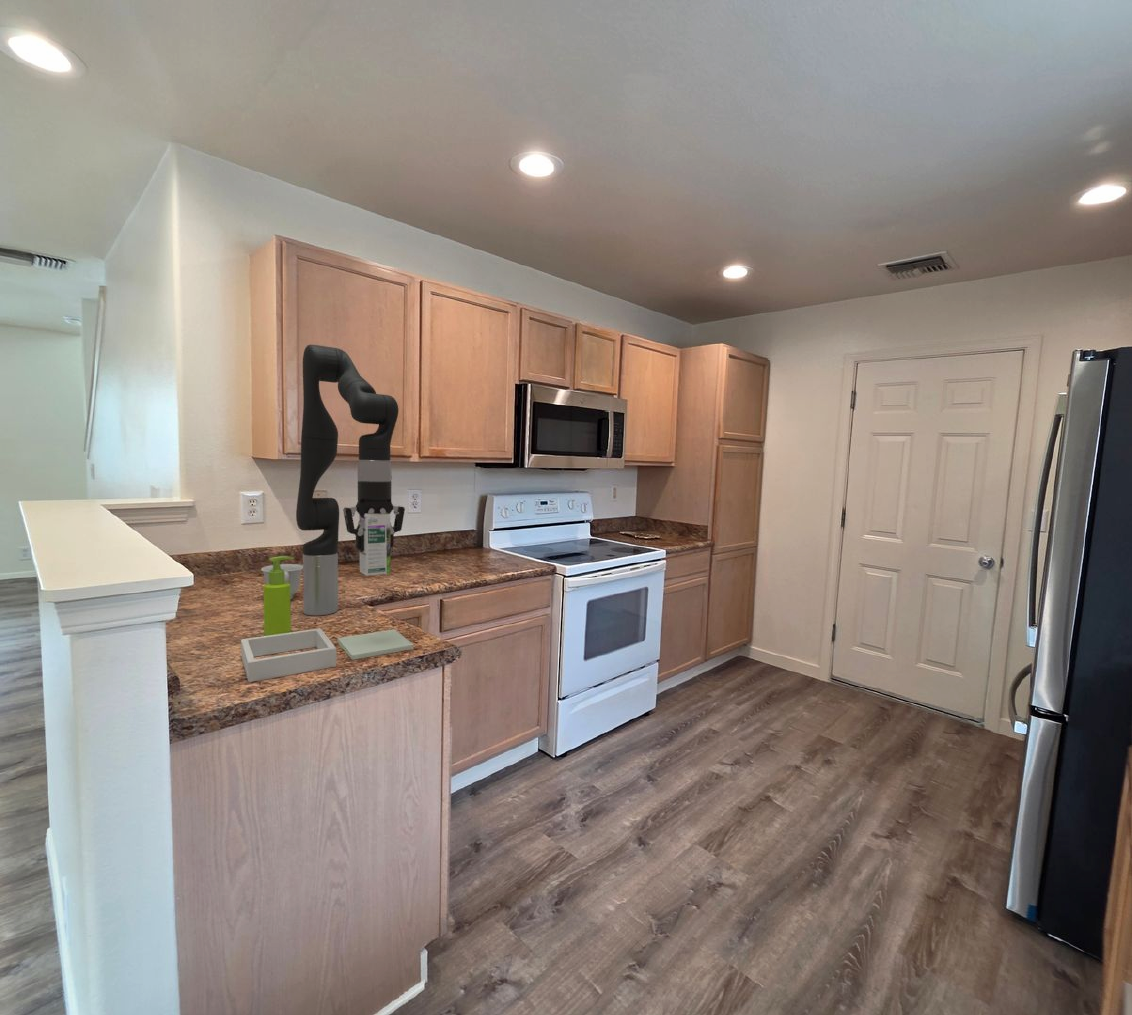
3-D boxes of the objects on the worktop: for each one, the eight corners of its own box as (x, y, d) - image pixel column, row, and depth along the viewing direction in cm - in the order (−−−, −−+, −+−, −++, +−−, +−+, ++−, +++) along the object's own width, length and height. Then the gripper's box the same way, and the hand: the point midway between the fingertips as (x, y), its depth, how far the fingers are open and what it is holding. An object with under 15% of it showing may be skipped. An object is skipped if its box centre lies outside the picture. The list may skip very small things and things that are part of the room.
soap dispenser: (299, 635, 136) (298, 557, 134) (269, 641, 131) (268, 560, 129) (289, 630, 140) (288, 553, 138) (260, 636, 135) (259, 556, 133)
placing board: (337, 642, 132) (337, 638, 132) (394, 632, 140) (394, 629, 140) (352, 659, 121) (352, 655, 121) (413, 648, 129) (413, 644, 129)
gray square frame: (241, 656, 121) (241, 639, 120) (320, 644, 130) (320, 628, 130) (248, 682, 107) (248, 662, 107) (336, 666, 117) (336, 648, 116)
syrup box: (366, 576, 125) (366, 514, 124) (359, 571, 130) (358, 511, 128) (390, 574, 128) (391, 513, 127) (383, 569, 133) (383, 511, 132)
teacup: (264, 607, 160) (263, 574, 159) (260, 596, 173) (259, 565, 172) (308, 602, 167) (308, 570, 166) (301, 592, 179) (301, 562, 178)
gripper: (399, 479, 134) (399, 546, 136) (338, 478, 126) (339, 550, 127) (410, 480, 128) (409, 550, 130) (346, 480, 120) (346, 555, 121)
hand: (374, 550), depth 129 cm, fingers closed on syrup box, 5 cm apart
